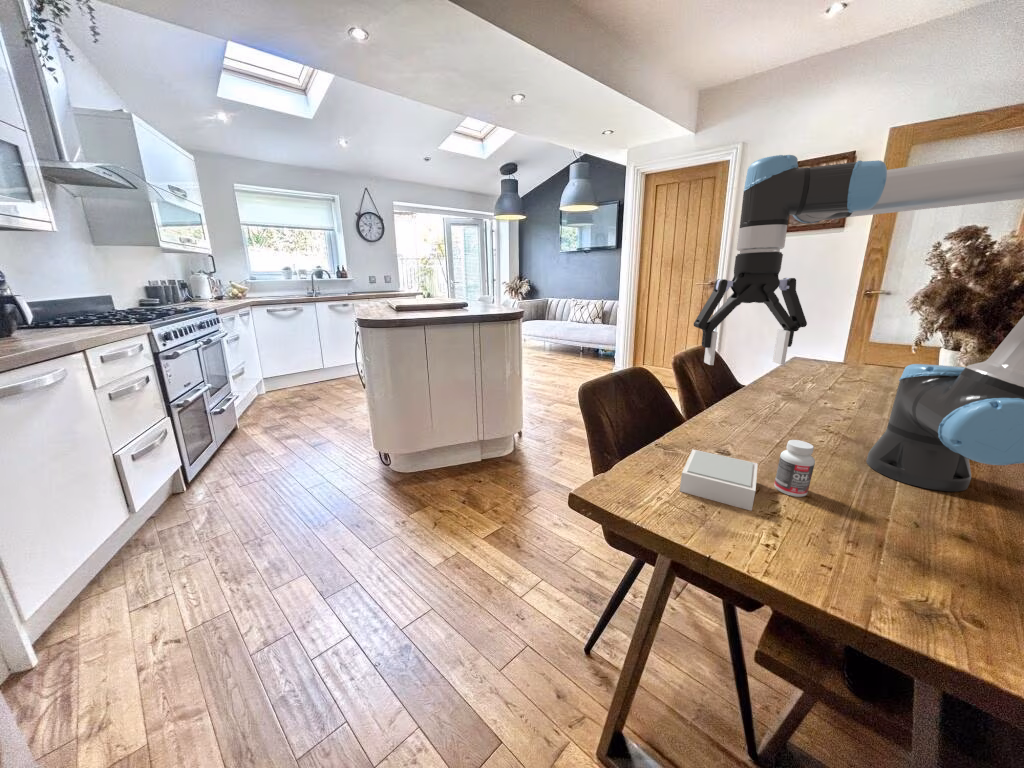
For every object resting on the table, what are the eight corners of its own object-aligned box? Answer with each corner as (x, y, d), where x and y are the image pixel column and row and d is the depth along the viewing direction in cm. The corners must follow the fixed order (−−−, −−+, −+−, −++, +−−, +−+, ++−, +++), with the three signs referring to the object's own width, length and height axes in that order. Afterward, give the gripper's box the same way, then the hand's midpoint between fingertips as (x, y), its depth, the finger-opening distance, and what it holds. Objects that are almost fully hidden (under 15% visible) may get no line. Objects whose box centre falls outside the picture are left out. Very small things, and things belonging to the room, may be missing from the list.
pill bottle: (793, 499, 72) (803, 451, 70) (767, 485, 77) (776, 439, 75) (814, 495, 74) (825, 447, 71) (787, 481, 79) (797, 436, 76)
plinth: (754, 481, 79) (758, 462, 78) (751, 510, 69) (755, 489, 68) (690, 466, 85) (692, 447, 84) (679, 491, 75) (682, 471, 74)
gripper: (814, 251, 76) (795, 358, 81) (683, 254, 77) (673, 359, 83) (844, 248, 68) (821, 367, 74) (698, 252, 70) (686, 368, 75)
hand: (743, 363), depth 78 cm, fingers open, 13 cm apart
